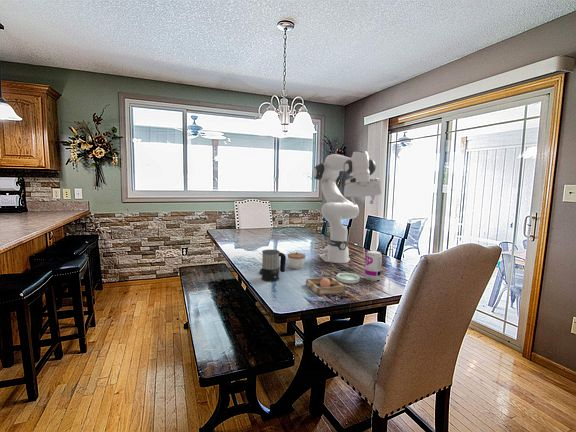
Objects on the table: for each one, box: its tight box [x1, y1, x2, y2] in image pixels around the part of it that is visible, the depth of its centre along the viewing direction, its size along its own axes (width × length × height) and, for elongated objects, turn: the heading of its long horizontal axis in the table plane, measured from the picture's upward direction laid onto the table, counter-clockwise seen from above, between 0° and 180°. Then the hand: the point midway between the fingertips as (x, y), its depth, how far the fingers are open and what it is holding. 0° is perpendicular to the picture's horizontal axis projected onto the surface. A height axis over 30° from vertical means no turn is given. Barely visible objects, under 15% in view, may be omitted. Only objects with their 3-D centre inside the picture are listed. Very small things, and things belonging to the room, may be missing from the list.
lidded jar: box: [287, 251, 306, 270], centre depth 179 cm, size 11×11×9 cm
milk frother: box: [258, 249, 287, 282], centre depth 159 cm, size 14×16×15 cm
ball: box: [319, 277, 331, 288], centre depth 145 cm, size 5×5×5 cm
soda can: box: [364, 250, 383, 282], centre depth 161 cm, size 8×8×15 cm
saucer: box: [335, 272, 361, 285], centre depth 159 cm, size 12×12×2 cm
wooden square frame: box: [305, 276, 346, 296], centre depth 145 cm, size 14×14×3 cm
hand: (363, 204), depth 166 cm, fingers open, 8 cm apart
